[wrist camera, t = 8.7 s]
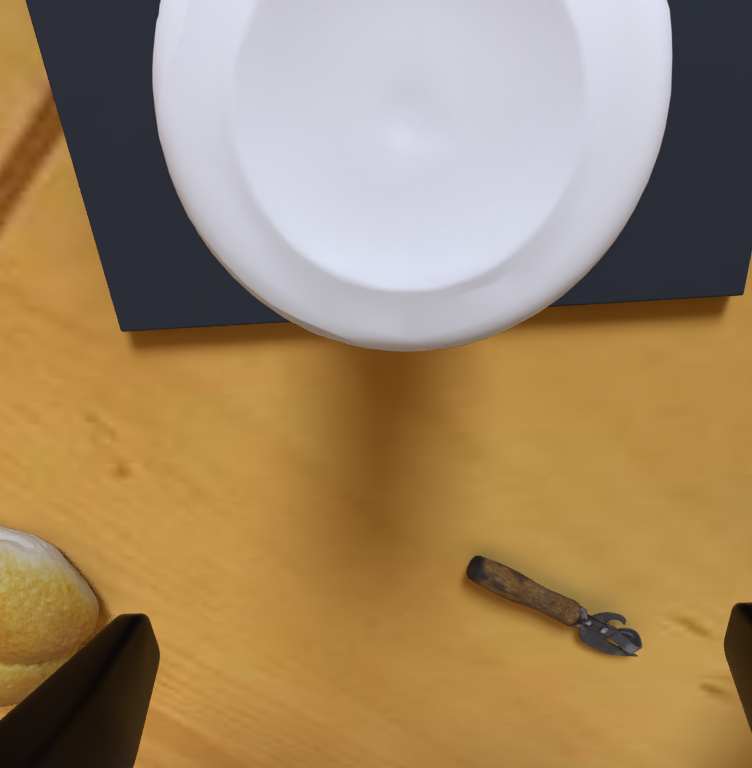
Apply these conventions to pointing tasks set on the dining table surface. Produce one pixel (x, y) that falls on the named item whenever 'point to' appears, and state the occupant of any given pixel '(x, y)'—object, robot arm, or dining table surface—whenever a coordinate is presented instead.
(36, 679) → the bread roll
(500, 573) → the can opener
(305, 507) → the dining table surface
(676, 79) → the desk mat
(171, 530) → the dining table surface
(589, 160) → the spice jar
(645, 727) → the dining table surface
